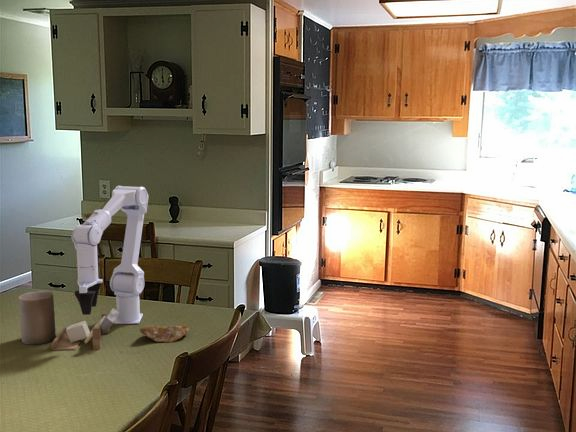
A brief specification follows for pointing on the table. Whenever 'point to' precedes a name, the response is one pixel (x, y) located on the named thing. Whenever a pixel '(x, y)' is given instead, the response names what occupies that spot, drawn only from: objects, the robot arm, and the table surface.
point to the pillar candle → (37, 317)
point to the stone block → (78, 331)
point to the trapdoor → (105, 322)
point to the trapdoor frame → (64, 342)
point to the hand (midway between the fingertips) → (89, 310)
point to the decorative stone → (164, 333)
